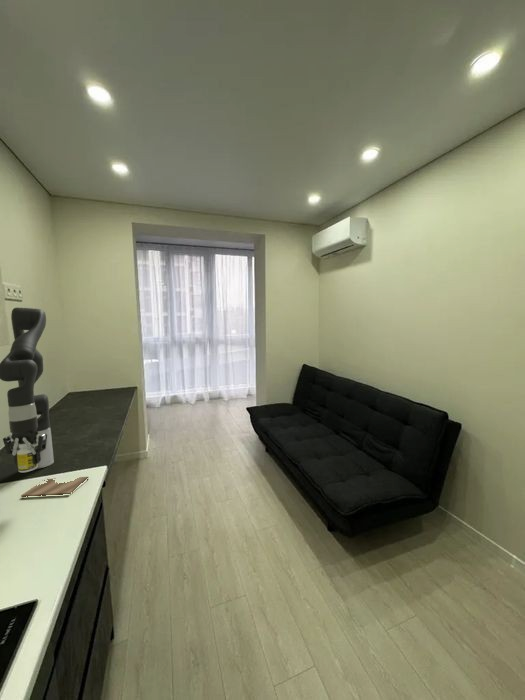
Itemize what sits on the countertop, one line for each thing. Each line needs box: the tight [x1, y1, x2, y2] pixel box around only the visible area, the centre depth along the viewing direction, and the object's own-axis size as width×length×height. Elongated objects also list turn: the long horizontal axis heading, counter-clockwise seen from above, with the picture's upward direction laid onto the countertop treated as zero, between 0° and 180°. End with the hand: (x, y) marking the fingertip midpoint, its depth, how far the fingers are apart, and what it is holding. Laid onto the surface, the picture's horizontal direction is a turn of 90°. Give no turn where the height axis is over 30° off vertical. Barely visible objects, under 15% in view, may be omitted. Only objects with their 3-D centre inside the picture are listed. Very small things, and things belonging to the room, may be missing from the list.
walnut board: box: [20, 476, 89, 498], centre depth 114 cm, size 18×12×1 cm, turn 91°
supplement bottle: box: [17, 443, 38, 473], centre depth 102 cm, size 5×5×10 cm
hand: (28, 463), depth 102 cm, fingers closed on supplement bottle, 5 cm apart
